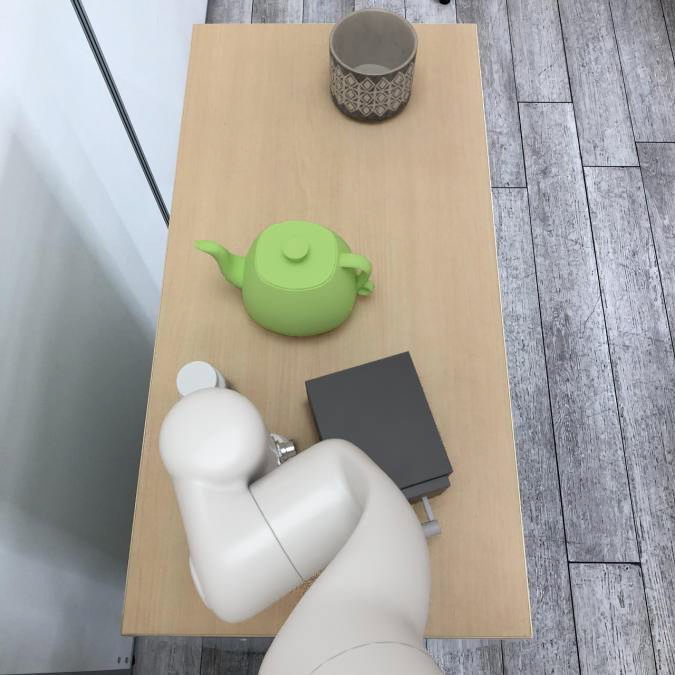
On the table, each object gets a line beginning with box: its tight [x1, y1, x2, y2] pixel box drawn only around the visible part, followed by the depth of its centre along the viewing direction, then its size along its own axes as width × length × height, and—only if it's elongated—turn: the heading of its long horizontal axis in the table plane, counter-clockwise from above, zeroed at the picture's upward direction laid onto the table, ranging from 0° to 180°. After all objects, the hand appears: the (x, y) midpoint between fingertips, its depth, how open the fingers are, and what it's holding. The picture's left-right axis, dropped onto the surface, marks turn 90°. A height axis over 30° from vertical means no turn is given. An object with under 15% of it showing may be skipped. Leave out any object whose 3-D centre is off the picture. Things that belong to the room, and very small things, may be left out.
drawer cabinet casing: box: [304, 350, 454, 490], centre depth 74 cm, size 15×13×10 cm
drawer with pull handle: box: [400, 475, 452, 539], centre depth 73 cm, size 18×11×8 cm, turn 17°
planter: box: [328, 7, 419, 122], centre depth 94 cm, size 13×13×10 cm
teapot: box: [193, 220, 375, 337], centre depth 80 cm, size 22×15×13 cm
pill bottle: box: [175, 360, 232, 400], centre depth 76 cm, size 6×6×10 cm
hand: (262, 497), depth 71 cm, fingers closed
